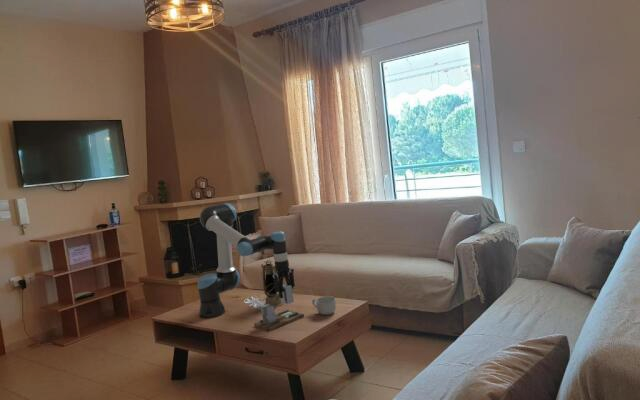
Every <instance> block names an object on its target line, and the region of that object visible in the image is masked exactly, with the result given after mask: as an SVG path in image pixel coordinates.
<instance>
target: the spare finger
mask: <svg viewBox="0 0 640 400" xmlns="http://www.w3.org/2000/svg"><path fill="white" fill-rule="evenodd" d="M283 292H284V296H285V305H286V304H287V305H289V304H291V303H294V296H293V293H294V292H293V289H292V286H290V285H287V284H283ZM292 292H293V293H292Z"/></svg>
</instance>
